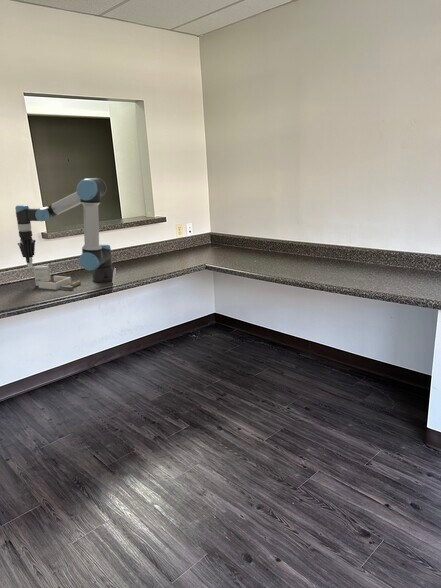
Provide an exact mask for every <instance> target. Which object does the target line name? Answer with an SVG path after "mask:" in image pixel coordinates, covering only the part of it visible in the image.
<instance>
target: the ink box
mask: <svg viewBox="0 0 441 588" xmlns="http://www.w3.org/2000/svg"><path fill="white" fill-rule="evenodd" d="M32 268H33V274H34V281H35V286H38V287H39V285H38V282H39V281H40V282H51V283H52V279H51V271H50V265H35V266H34V267H32Z"/></svg>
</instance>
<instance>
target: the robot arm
mask: <svg viewBox="0 0 441 588" xmlns="http://www.w3.org/2000/svg"><path fill="white" fill-rule="evenodd" d="M76 185H77V186H76V191H75V192H73V193H71V194H68V195H66V196H65V197H63V198H60V199H59V200H57V201H55V202H53V203H50V204H48V205H47V206H43V207H38V208H29V205H28V204H18V205H15V216H16V222H17V230H18V236H19V238H20V240H19V241H20V242H18V243H17V246H18V247H19V249H20V253H21V255H22V258H25V263H26V264H27V268H29V269H30V268H31V269H32V268H34V267H33V257H34V256H35V247H36V246H35V245H36V240H35V239H34V238H33V232H32V231H33V230H32V224H31V222H48V220H49V219H53V218H56V217H57V216H58V215H60V214H63V213H64V212H67V211H68V210H71V209H72V208H76V207H77V206H79V205H81V204H82V208H83V209H82V210H83V212H82V213H83V235H84V236H83V237H84V245H83V246H82V247H81V254H80V256H79V264H80V266H81V267H82V268H83V269H84V270H86V271H93V272H92V278H91V279H92V282H95V283H109V282H113V280H114V273H115V269H114V268H113V260H112V249H111V246H110V245H109V244H100V227H99V224H100V223H99V221H100V219H99V205H100V204H101V200H102V199H101V197H103V196H105V194H106V192H107V190H108V189H107V184H106V182H105V180H103V179H102V178H99V177H92V178H91V177H90V178H84V179H82V180H80V181H79V182H78V184H76Z"/></svg>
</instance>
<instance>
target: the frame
mask: <svg viewBox="0 0 441 588" xmlns="http://www.w3.org/2000/svg"><path fill="white" fill-rule="evenodd" d="M72 283H73V281H72V277H71V276H62V275H61V276H60V275H53V282H52V281H51V282H40V281H39V282H38V285H39V286H38V289H45V290H55V291H57V290H59V289H60V286H62V285H63V286H67V285H69V284H72Z"/></svg>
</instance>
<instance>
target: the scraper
mask: <svg viewBox="0 0 441 588" xmlns="http://www.w3.org/2000/svg"><path fill="white" fill-rule="evenodd" d="M81 284H82V282H81V280H77V281H74V282H72V283H71V284H69V285H66V286H63V285H62V286H60V288H59V289H60V290H63V291H74V288H75V287H77V286H79V285H81Z"/></svg>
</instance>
